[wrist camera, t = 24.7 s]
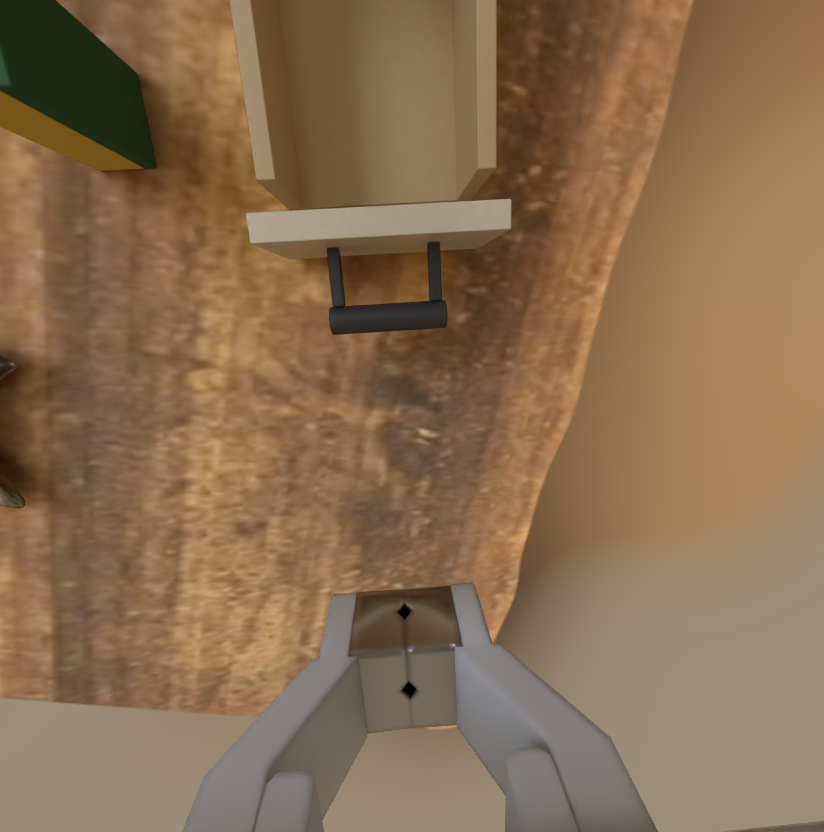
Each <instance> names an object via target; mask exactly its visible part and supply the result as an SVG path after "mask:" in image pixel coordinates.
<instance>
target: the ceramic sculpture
mask: <svg viewBox="0 0 824 832" xmlns="http://www.w3.org/2000/svg"><path fill="white" fill-rule="evenodd" d="M16 368H17V364H16V363H14V362H12V361H10V360H8V359H6V358H4V357H2V356H0V381H1V380H2V379H3V378H4V377H5V376H6V375H7V374H9V373H11V372H12V371H14V370H15V369H16ZM0 505H3V506H6V507H14V508H23V507H24V506H25V500H24V498H23V497H22V496H21V495H20V494H19V492H18V491H17V490H16V489H15V488H14V486H13V485H12V483H11V482H10V481H9V480H8V479H7V478H6V477H5V476H4V475H3V474H2V473H1V472H0Z"/></svg>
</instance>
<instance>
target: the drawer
mask: <svg viewBox="0 0 824 832" xmlns="http://www.w3.org/2000/svg"><path fill="white" fill-rule="evenodd" d="M229 1H230V8H231V15H232V21H233V28H234V35H235V41H236V48H237V55H238V61H239V68H240V75H241V81H242V88H243V95H244V101H245V108H246V114H247V121H248V128H249V134H250V141H251V148H252V154H253V161H254V168H255V174H256V180H257V181H258V182H259V183H260V184H261V185H262V186H264V187H265V188H266V189H267V190H268V191H269V192H270V193H271V194H273V195H274V196H275V197H276V198H277V199H278V200H279V201H280V202H281V203H283V204H284V205H285V206H286V207H287V208H288V209H289V210H291V211H273V212H255V213H246V218H247V224H248V231H249V237H250V243H251V244H253V245H256V246H258V247H261V248H263V249H265V250H268V251H270V252H273V253H275V254H278V255H280V256H283V257H285V258H288V259H304V258H321V257H327V258H328V267H329V276H330V285H331V294H332V303H333V307H331V308H330V310H329V321H330V328H331V332H332V334H334V335H338V334H354V333H369V332H385V331H400V330H416V329H431V328H445V327H446V326H447V305H446V302H445V301H444V300H442V288H441V260H440V251H442V250H459V249H476V248H480V247H481V246H483V245H485V244H486V243H488V242H490V241H491V240H493V239H495V238H496V237H498V236H500V235H501V234H503V233H505V232H506V231H508V230H510V229H511V199H496V200H477V201H470V200H471V199H472V198H473V197H474V195H475V194H476V193H477V191H478V190H479V189H480V188H481V186H482V185H483V184H484V183H485V181H486V180H487V179H488V178H489V176H490V175H491V174H492V173H493V171H494V170H495V169H496V167H497V0H229ZM424 251H427V256H428V278H429V300H430V301H423V302H407V303H391V304H375V305H358V306H345V295H344V285H343V275H342V266H341V256H355V255H373V254H390V253H407V252H424Z"/></svg>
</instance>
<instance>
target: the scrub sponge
mask: <svg viewBox="0 0 824 832" xmlns="http://www.w3.org/2000/svg"><path fill="white" fill-rule="evenodd" d="M0 127H2V128H4V129H7V130H9V131H11V132H13V133H16V134H18V135H20V136H22V137H25V138H27V139H29V140H31V141H34V142H36V143H38V144H40V145H43V146H45V147H47V148H49V149H52V150H54V151H56V152H58V153H61V154H63V155H65V156H67V157H69V158H72V159H74V160H76V161H78V162H81V163H83V164H85V165H87V166H90V167H92V168H94V169H96V170H99V171H110V170H129V169H143V168H145V169H149V168H156V162H155V157H154V153H153V148H152V143H151V138H150V134H149V129H148V124H147V119H146V115H145V110H144V105H143V101H142V96H141V91H140V86H139V82H138V77H137V73H136V72H135V71H134V70H133V69H132V68H130V67H129V66H128V65H127V64H126V63H125V62H124V61H123V60H122V59H120V58H119V57H118V56H117V55H116V54H115V53H114V52H113V51H112V50H110V49H109V48H108V47H107V46H106V45H105V44H104V43H103V42H101V41H100V40H99V39H98V38H97V37H96V36H95V35H94V34H93V33H91V32H90V31H89V30H88V29H87V28H86V27H85V26H84V25H83V24H81V23H80V22H79V21H78V20H77V19H76V18H75V17H74V16H72V15H71V14H70V13H69V12H68V11H67V10H66V9H65V8H64V7H62V6H61V5H60V4H59V3H58V2H57V1H56V0H0Z"/></svg>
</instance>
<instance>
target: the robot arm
mask: <svg viewBox="0 0 824 832" xmlns="http://www.w3.org/2000/svg"><path fill="white" fill-rule="evenodd" d="M450 725H457V728H458V729H459V731H460V732H461V733H462V735H463V736H464V737H465V739H466V741H467V742H468V743H469V745H470V746H471V748H472V749H473V751H474V752H475V753H476V755H477V756H478V758H479V759H480V760H481V762H482V763H483V765H484V766H485V767H486V769H487V770H488V772H489V773H490V774H491V776H492V777H493V779H494V780H495V781H496V783H497V784H498V786H499V787H500V789H501V790H502V792H503V793H504V794H505V796H506V806H505V809H506V810H505V832H658V831H657V829H656V827H655V825H654V823H653V821H652V819H651V817H650V815H649V813H648V811H647V809H646V807H645V805H644V803H643V801H642V799H641V797H640V795H639V793H638V791H637V789H636V787H635V785H634V783H633V781H632V779H631V777H630V775H629V773H628V771H627V769H626V767H625V765H624V763H623V761H622V759H621V757H620V755H619V753H618V751H617V749H616V747H615V745H614V744H613V741H612V739H611V737H609V736H608V735H607V734H606V733H605V732H604V731H602V730H601V729H600V728H599V727H597V725H595V724H594V723H593V722H592V721H591V720H589V719H588V718H587V717H586V716H585V715H583V714H582V713H581V712H580V711H579V710H578V709H576V708H575V707H574V706H573V705H572V704H570V703H569V702H568V701H567V700H566V699H565V698H564V697H562V696H561V695H560V694H559V693H558V692H556V691H555V690H554V689H553V688H552V687H550V686H549V685H548V684H547V683H546V682H545V681H544V680H542V679H541V678H540V677H539V676H538V675H536V674H535V673H534V672H533V671H532V670H531V669H529V668H528V667H527V666H526V665H525V664H524V663H522V662H521V661H520V660H519V659H517V658H516V657H515V656H514V655H513V654H512V653H511V652H509V651H508V650H507V649H506V648H505V647H504V646H502V645H501V644H500V643H498V644H492V641H491V638H490V634H489V631H488V628H487V624H486V621H485V618H484V614H483V611H482V608H481V604H480V601H479V598H478V594H477V591H476V588H475V585H474V584H473V583H472V582H471V583H462V584H452V585H450V586H438V587H426V588H415V589H402V590H385V591H368V592H358V593H342V594H334V595H333V597H332V598H331V602H330V607H329V612H328V617H327V622H326V626H325V631H324V636H323V641H322V646H321V651H320V656H319V659H317V660H311V661H310V662H309V663H308V664H307V665H306V666H305V667H304V668H303V669H302V671H301V672H300V673H299V674H298V675H297V676H296V677H295V678H294V679H293V680H292V681H291V682H290V684H289V685H288V686H287V687H286V688H285V689H284V690H283V691H282V692H281V693H280V694H279V695H278V697H277V698H276V699H275V700H274V701H273V702H272V703H271V704H270V705H269V706H268V707H267V708H266V710H265V711H264V712H263V713H262V714H261V715H260V716H259V717H258V718H257V719H256V721H255V722H254V723H253V724H252V725H251V726H250V727H249V728H248V729H247V730H246V731H245V732H244V733H243V735H242V736H241V737H240V738H239V739H238V740H237V741H236V742H235V743H234V744H233V745H232V747H231V748H230V749H229V750H228V751H227V752H226V753H225V754H224V755H223V756H222V757H221V758H220V759H219V760H218V762H217V763H216V764H215V765H214V766H213V767H212V768H211V769H210V770H209V771H208V772H207V773H206V775H205V776H204V778H203V781H202V783H201V785H200V788H199V791H198V793H197V796H196V798H195V801H194V803H193V806H192V808H191V811H190V813H189V816H188V818H187V821H186V823H185V826H184V828H183V831H182V832H324V829H323V824H322V820H323V818H324V816H325V814H326V812H327V810H328V809H329V807H330V805H331V803H332V801H333V799H334V798H335V796H336V794H337V792H338V790H339V788H340V786H341V785H342V783H343V781H344V779H345V777H346V775H347V773H348V771H349V770H350V768H351V766H352V764H353V762H354V760H355V759H356V757H357V755H358V753H359V751H360V749H361V747H362V746H363V744H364V742H365V740H366V738H367V734H368V733H376V732H384V731H392V730H399V729H407V728H419V727H434V726H450ZM724 832H824V821H818V822H808V823H799V824H789V825H780V826H771V827H761V828H752V829H743V830H733V831H724Z"/></svg>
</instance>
